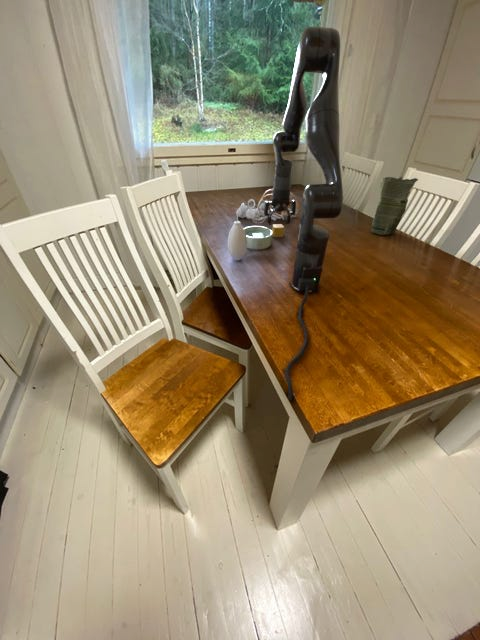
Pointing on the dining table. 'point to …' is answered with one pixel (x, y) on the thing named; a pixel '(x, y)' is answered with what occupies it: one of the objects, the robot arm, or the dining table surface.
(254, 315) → the dining table surface
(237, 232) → the sauce bottle
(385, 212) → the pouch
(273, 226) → the mustard cube
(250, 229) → the bowl
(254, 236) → the blue cube
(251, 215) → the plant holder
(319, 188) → the robot arm
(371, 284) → the dining table surface
